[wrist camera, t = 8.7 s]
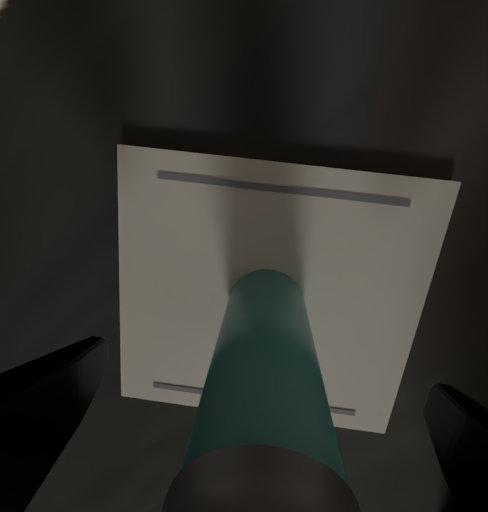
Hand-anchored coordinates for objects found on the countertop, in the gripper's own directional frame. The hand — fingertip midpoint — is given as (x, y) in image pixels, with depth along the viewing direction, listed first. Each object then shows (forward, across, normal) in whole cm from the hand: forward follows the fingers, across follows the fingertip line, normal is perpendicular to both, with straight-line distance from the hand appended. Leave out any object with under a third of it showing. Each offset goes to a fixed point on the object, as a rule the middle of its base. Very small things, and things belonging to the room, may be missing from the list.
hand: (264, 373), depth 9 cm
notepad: (+5, 0, 0) cm, 5 cm away
